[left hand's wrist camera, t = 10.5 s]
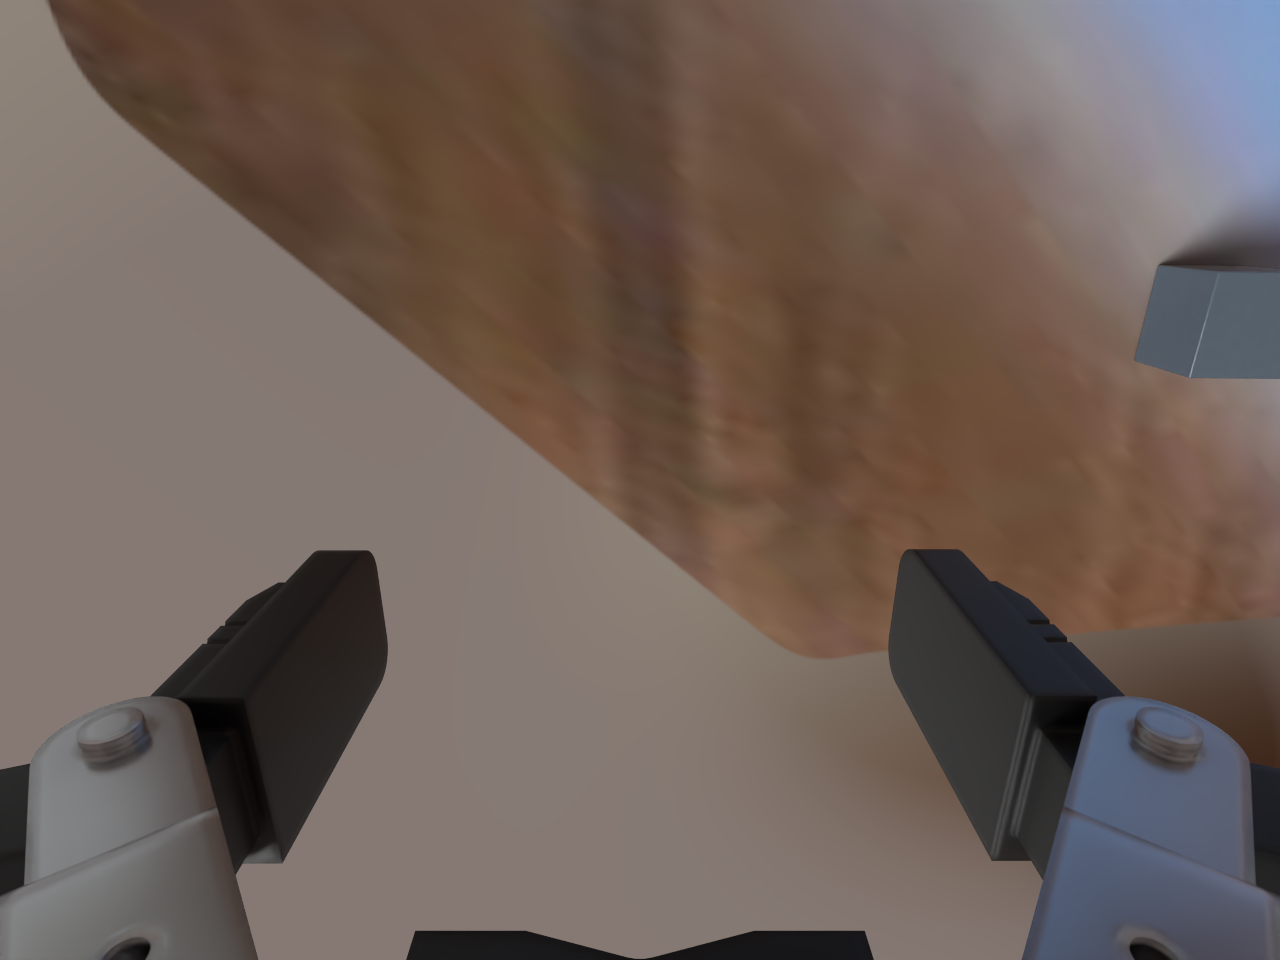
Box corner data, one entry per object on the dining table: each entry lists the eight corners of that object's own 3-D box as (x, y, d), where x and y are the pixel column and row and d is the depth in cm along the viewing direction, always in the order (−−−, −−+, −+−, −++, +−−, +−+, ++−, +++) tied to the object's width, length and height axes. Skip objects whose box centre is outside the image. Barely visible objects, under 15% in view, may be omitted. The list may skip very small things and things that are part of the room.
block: (1133, 361, 38) (1189, 378, 34) (1157, 264, 36) (1219, 271, 32) (1215, 362, 38) (1280, 379, 34) (1243, 265, 36) (1315, 272, 32)
